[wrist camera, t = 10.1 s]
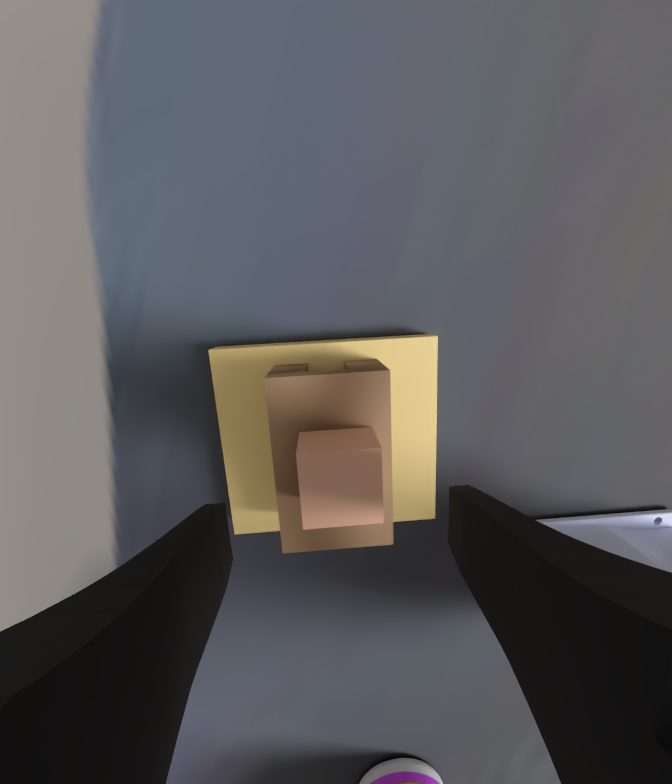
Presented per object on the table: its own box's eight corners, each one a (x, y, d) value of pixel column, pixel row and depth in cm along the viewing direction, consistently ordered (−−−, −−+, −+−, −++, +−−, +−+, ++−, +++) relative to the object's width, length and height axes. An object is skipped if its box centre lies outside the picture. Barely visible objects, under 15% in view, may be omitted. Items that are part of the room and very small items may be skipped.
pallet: (377, 358, 17) (390, 370, 14) (380, 505, 19) (393, 544, 16) (274, 365, 17) (263, 378, 14) (288, 512, 18) (282, 553, 15)
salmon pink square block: (372, 426, 14) (381, 447, 12) (374, 492, 15) (384, 522, 13) (299, 432, 14) (296, 454, 12) (305, 498, 15) (303, 529, 13)
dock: (428, 334, 18) (437, 336, 17) (426, 503, 20) (435, 518, 19) (217, 346, 18) (208, 349, 16) (240, 518, 20) (234, 534, 19)
